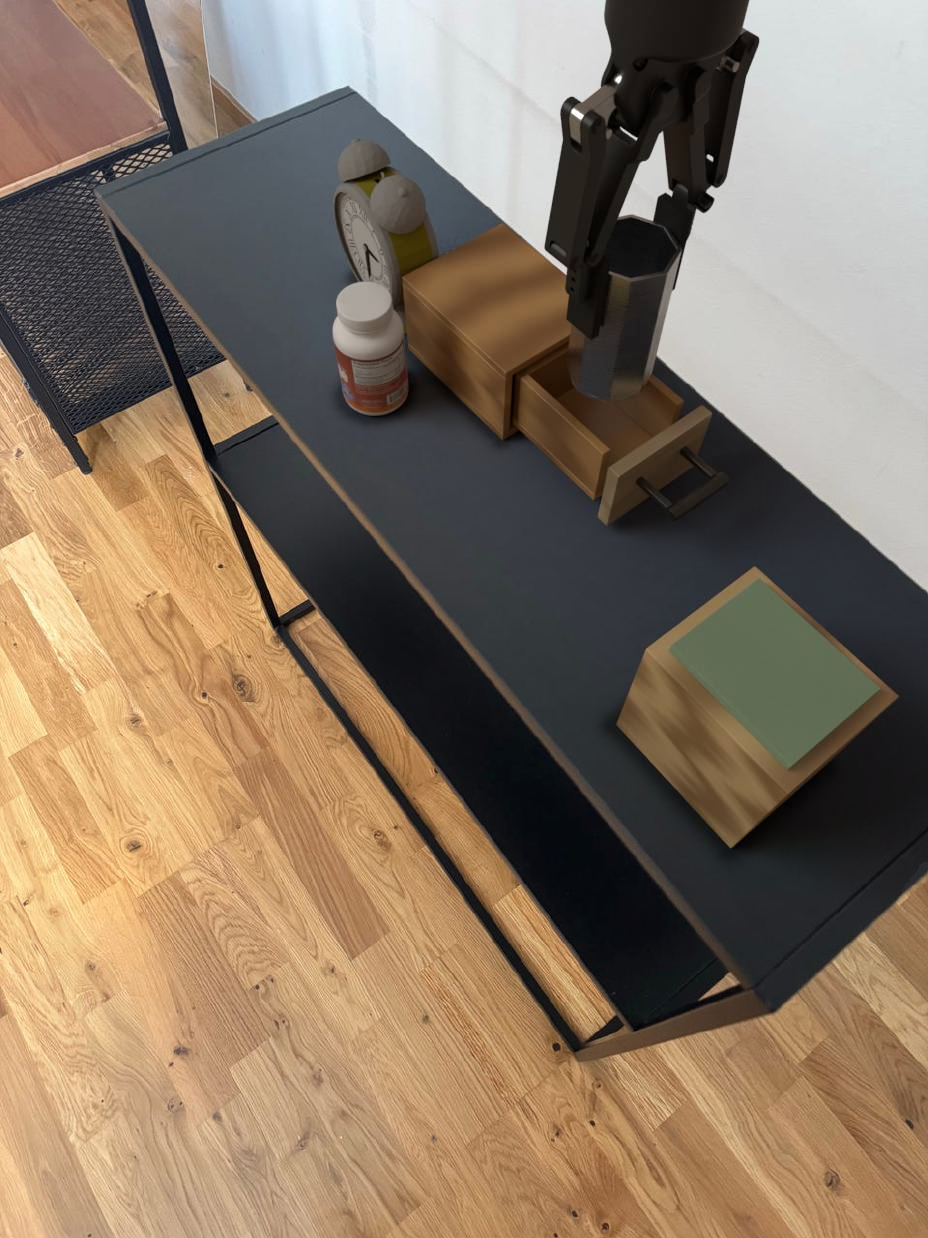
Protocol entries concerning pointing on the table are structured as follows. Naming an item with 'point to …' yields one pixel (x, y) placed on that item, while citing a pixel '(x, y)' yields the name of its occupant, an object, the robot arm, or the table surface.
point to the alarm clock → (381, 220)
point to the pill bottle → (370, 349)
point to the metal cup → (627, 313)
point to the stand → (724, 732)
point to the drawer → (614, 439)
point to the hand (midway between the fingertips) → (621, 303)
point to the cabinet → (486, 319)
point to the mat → (774, 672)
